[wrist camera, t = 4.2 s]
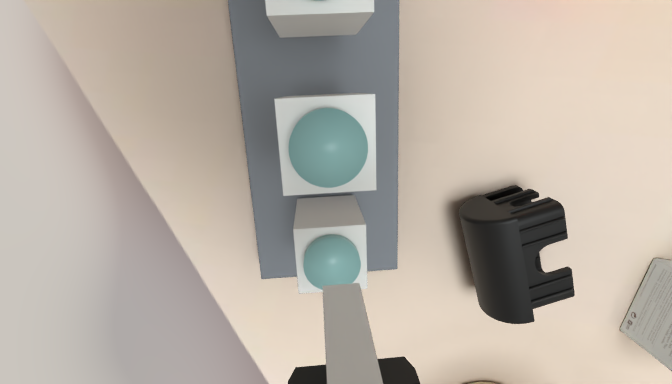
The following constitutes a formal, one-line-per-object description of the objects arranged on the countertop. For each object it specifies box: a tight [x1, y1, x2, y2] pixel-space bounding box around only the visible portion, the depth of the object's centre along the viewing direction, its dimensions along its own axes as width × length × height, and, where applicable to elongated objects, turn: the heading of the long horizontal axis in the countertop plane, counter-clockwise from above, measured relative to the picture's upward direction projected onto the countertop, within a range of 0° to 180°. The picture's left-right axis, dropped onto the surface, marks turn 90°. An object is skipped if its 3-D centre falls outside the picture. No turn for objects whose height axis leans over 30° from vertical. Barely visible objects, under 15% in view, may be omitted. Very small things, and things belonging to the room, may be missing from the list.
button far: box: [293, 195, 367, 294], centre depth 25 cm, size 5×5×7 cm
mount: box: [228, 0, 399, 279], centre depth 26 cm, size 26×12×8 cm, turn 3°
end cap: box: [459, 186, 574, 324], centre depth 31 cm, size 10×7×7 cm
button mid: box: [274, 93, 376, 196], centre depth 19 cm, size 5×5×7 cm
